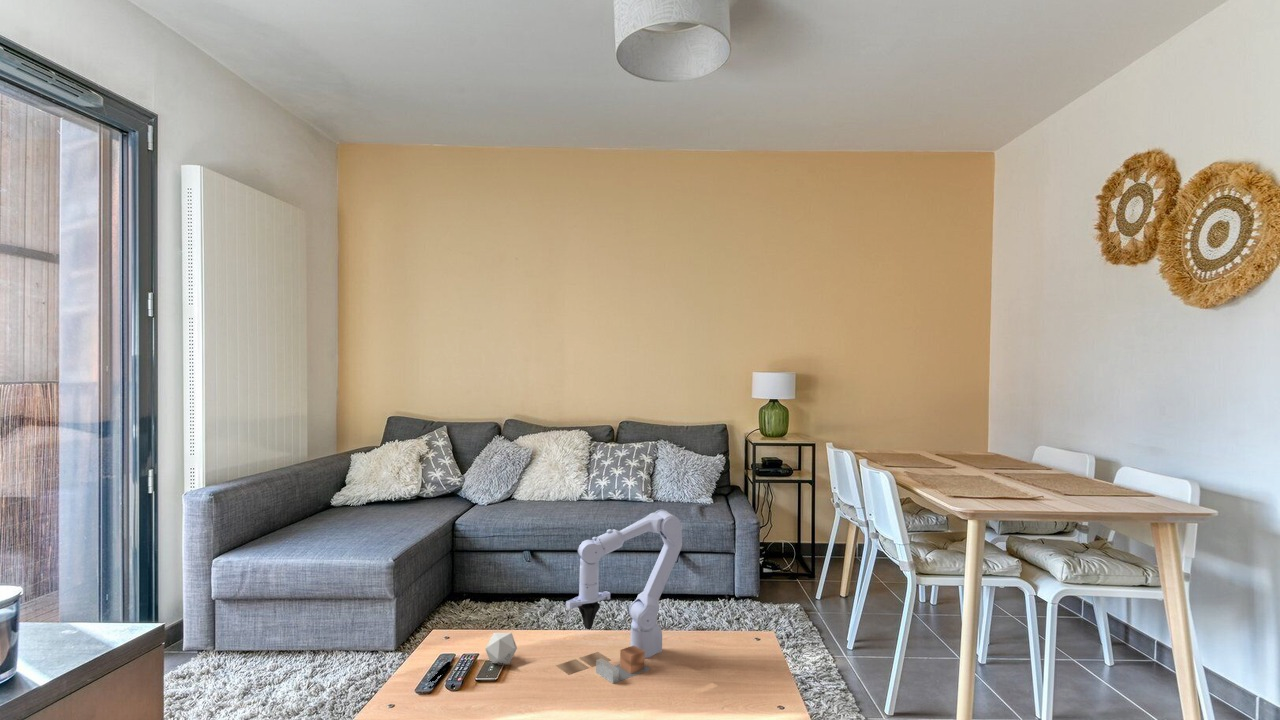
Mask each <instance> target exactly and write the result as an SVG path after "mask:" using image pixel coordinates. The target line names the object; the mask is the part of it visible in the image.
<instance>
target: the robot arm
mask: <svg viewBox="0 0 1280 720" xmlns="http://www.w3.org/2000/svg"><path fill="white" fill-rule="evenodd" d="M683 529H684V526H683V525H682V522H681V520H680V519H679V518H678V517H677V516H676V515H673V514H671V513H669V511H667V510H666V509H658V510H656V511H655V512H651V513H649V514H648V515H647V516H644V517H643V518H641V519H639V520H638V521H635V522H633V523H632V524H631V525H628V526H627V527H624V528H622V529H620V530H618V529H614V528H613V529H611V528H609V529H607V530H606V532H605V533H603V534H601V535H597V536H593V537H592V539H585V540H583V541H581V544H579V546H578V548H577V554H578V555H579V557H580V559H579V583H578V584H579V585H578V589H579V590H578V591H579V592H578V596H575V597H574V598H571V599H569V600H566V601H565V602H566V603H565V605H566V609H568V610H573V609H574V608H577V609H578V610H579V612H580V615H581V618H582V621H583V627H584V629H587V630H591V629H593V625H594V622H595V619H596V616H597V613H598V611H599V610H600V609H601V604H600V603H598V602H600V601H605V600H607V601H608V600H611V592H610V591H599V589H600V588H599V579H600V578H599V577H600V576H599V575H600V566H599V565H600V564H599V563H600V560H601V559H602V557H603V556H605V555H608V554H610V553H612V552H614V551H617V550H619V549H620V548H622V547H623V545H624V542H626V541H628V540H631V539H633V538H636V537H637V536H638V537H639V536H640V535H642V534H645V533H648V532H649V533H654V534H658V535H660V537H661V539H662V542H663V546H662V548H661V551H660V552H659V555H658V558H657V559H656V562H655V564H654V566H653V568H652V571H651V572H650V575H649V577H648V580H647V582H646V584H645V587H644V589H643V590H642V592H640V593H638V594H637V597H636V599H634V601H633V602H631V604H630V605H629V608H628V614H629V616H630V618H631V623H630V647H631V646H636V647H638V648H639V649H641V650H643V651H645V659H649V658H651V657H653V656H655V655H657V654H660V653H663V630H662V628H661V626H660V625H659V623H658V615H659V614H658V613H659V611H660V599H661V595H662V593H663V591H664V589H665V586H666V584H667V582H668V579H669V577H670V576H671V575H670V574H671V573H672V571H673V568H674V566H675V564H676V561H677V559H678V557H679V555H680V552H681V550H682V548H683V533H682V532H683Z"/></svg>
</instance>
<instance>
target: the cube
mask: <svg viewBox="0 0 1280 720" xmlns="http://www.w3.org/2000/svg"><path fill="white" fill-rule="evenodd" d="M619 651H620V652H619V654H620V657H619V658H620V659H619V664H620V667H621V668H622V669H624V670H626V671H627V672H629V673H630V674H631V673H634V672H637V671H640V670H642V669H644V665H645V659H646V658H645V651H643V650H641V649H639V648H638V647H636V646H631V645H630V646H628V647H625V648H622V649H620V650H619Z"/></svg>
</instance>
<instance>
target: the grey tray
mask: <svg viewBox="0 0 1280 720" xmlns="http://www.w3.org/2000/svg"><path fill="white" fill-rule="evenodd" d="M651 670H652V668H650V667H648V666H647V665H645V664H644V669H642V670H640V671H637V672H634V673H631V674H630V673H629V672H627V671H626V670H624V669H622V668H621V667H620V663H619V664H616V665H614V664H611V662H610V661H608V662H607V661H605V660H604V659H602V658H601V659H598V660H596V666H595V673H596V674H597V675H599V676H600V677H602V678H603V679H605V680H606V681H608V682H609V683H610V684H616V683H619V682H621V681H624V680H627V679H629V678H630V679H631V678H633V677H635V676H637V675H640V674H643V673H646V672H649V671H651Z"/></svg>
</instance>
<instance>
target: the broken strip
mask: <svg viewBox="0 0 1280 720" xmlns="http://www.w3.org/2000/svg"><path fill="white" fill-rule="evenodd" d="M601 658H602V659H604V660H605V661H607V662H610V661H612V659H611V658H608V657H607V656H605V655H604V654H602V653H600V652H599V651H597V652H593V653H591V654H587V655H584V656H581V657H578V659H579V660H578V659H577V658H574V659H572V660H568V661H564V662H562V663H559V664H555V667H557V668H558V669H560V670H561V671H562V672H564V673H565V674H567V675H568V676H569V675H573V674H575V673H579V672H581V671H585V670H587V669H589V668H590V667H591V668H593V667H596V660H598V659H601ZM580 660H581V661H582V662H584V663H586V664H587V665H588V666H587V665H585V664H584V663H582V662H581V661H580ZM589 666H590V667H589Z"/></svg>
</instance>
